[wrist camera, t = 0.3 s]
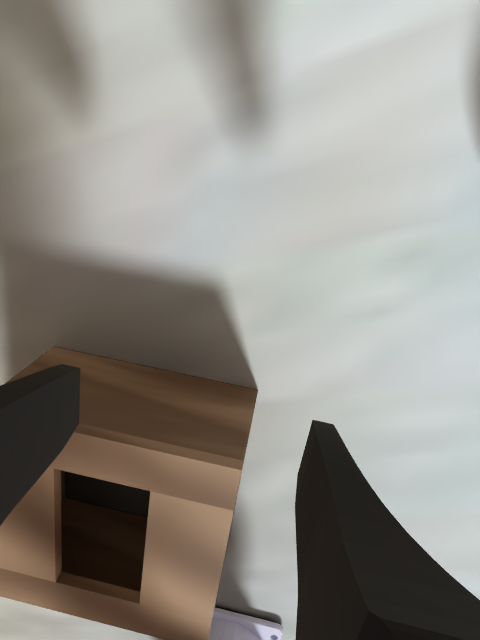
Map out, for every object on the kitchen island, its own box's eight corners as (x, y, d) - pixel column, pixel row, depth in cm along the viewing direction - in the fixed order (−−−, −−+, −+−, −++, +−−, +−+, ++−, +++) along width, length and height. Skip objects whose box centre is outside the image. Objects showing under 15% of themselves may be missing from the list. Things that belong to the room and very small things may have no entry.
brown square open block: (227, 544, 28) (205, 650, 22) (56, 502, 29) (-10, 593, 23) (258, 390, 23) (241, 470, 17) (53, 346, 24) (-29, 408, 18)
